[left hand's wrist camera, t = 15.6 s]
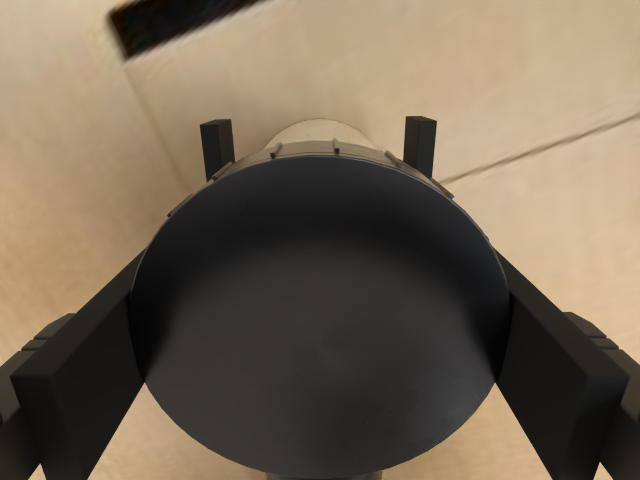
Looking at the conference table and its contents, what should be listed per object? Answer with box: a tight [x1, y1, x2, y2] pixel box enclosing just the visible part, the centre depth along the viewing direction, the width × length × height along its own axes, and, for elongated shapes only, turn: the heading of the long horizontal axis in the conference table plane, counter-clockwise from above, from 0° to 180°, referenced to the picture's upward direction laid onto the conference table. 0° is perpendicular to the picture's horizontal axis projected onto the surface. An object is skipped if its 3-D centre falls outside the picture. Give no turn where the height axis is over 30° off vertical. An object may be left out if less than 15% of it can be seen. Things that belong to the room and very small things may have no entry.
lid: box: [129, 138, 511, 479], centre depth 11 cm, size 10×10×2 cm
